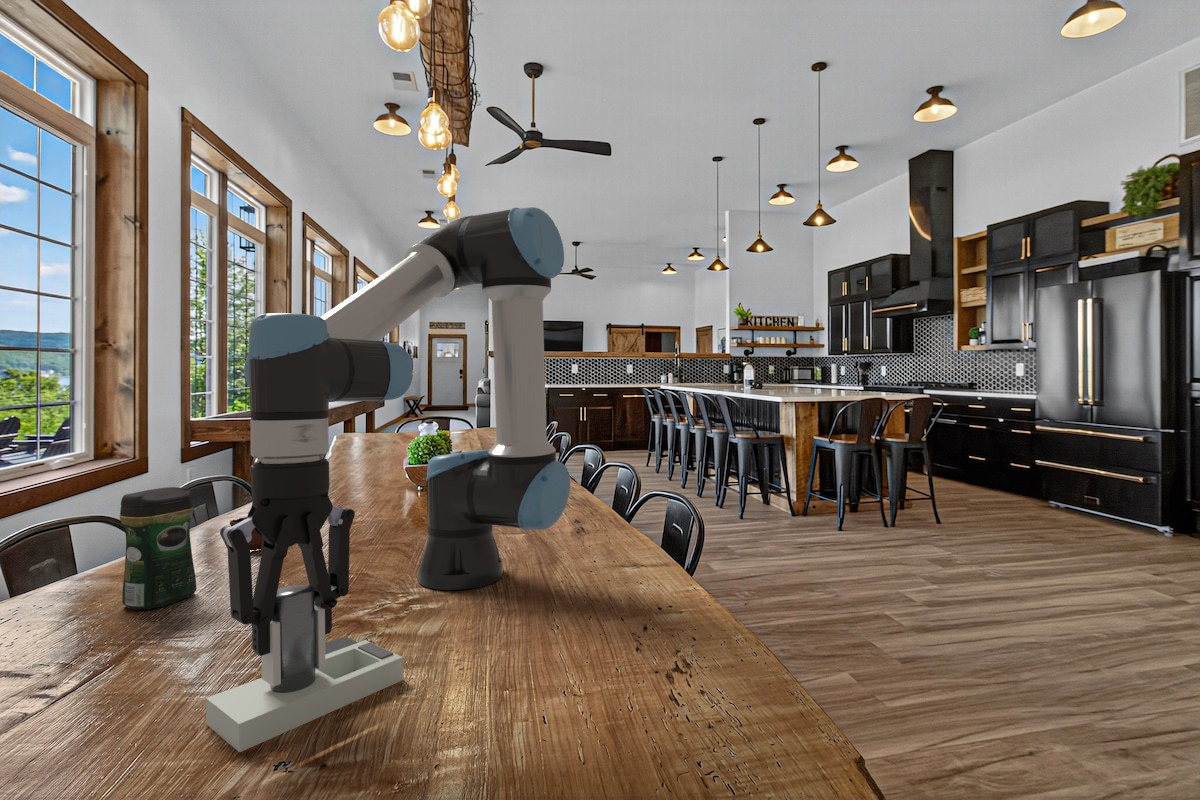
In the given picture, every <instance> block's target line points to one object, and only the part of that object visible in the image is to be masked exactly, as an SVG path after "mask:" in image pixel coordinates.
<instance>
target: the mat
mask: <svg viewBox="0 0 1200 800" xmlns="http://www.w3.org/2000/svg"><path fill="white" fill-rule="evenodd" d="M356 643H359V642H358V641H355V640H353V639H351V638H350V637H347V636H345V635H344V636H342V637H338V638H334V639H332V640H330V641H327V642H326V641H325V655H326V654H329V653H331V652H334V651H337V650H340V649H342V648H345V647H348V646H351V645H353V644H356Z"/></svg>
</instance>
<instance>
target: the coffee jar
mask: <svg viewBox="0 0 1200 800" xmlns="http://www.w3.org/2000/svg"><path fill="white" fill-rule="evenodd" d="M119 511H120V513H119V520H120V522H121V525H122V526H123V529H124V532H125V533H124V534H125V559H124V560H125V561H124V571H123V582H122V595H121V596H122V599H121V600H122V604H123V605H124V606H125V607H126V608H127V609H131V610H136V611H138V610H142V609H148V610H150V609H155V608H160V607H163V606H166V605H170V604H173V603H176V602H179V601H182V600H184V599H187V598H190V597H191V596H193V595H195V593H196V591H197V578H196V577H197V576H196V572H195V571H196V570H195V566H194V565H195V564H194V558H193V553H192V543H191V542H192V541H191V533H190V532H191V530H190V529H191V528H190V526H191V521H192V520H191V519H192V516H193V514H194V505H193V499H192V492H191V491H190V490H189V488H187V487H178V486H177V487H176V486H170V487H169V486H168V487H159V488H153V489H147V490H141V491H136V492H133V493H127V494H124V495H123V496H122V498H121V501H120V510H119Z"/></svg>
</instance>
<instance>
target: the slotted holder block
mask: <svg viewBox="0 0 1200 800" xmlns="http://www.w3.org/2000/svg"><path fill="white" fill-rule="evenodd" d="M325 661H326V667H324V668H322V669H317V668H315V672H316V679H315V681H314V683H313V684H311V685H310V686H308V687H306V688H304V689H301V690H298V691H294V692H289V693H277V692H274V691H272V690H271V689H270V684H269V683H267V682H265V681H264V680H262V677H260V678H258V679H257V678H256V679H254V680H252V681H248V682H246V683H243V684H241V685H238V686H235V687H232V688H230V689H226V690H224V691H222V692H219V693H216V694H213V695H211V696H207V697H205V713H206V714H205V716H206V717H205V718H206V719H205V720H206V723H205V724H206V725H207V727H209V728H210V729H212V731H213V732H215V733H216V734H217V735H218V736H219V737H221V738H222V739H223V740H224V741H226V743H227V744H229V745H230V746H231V747H232V748H233V749H235V751H237V752H238V753H242V752H244V751H246V750H248V749H250V748H252V747H253V748H254V747H255V746H257V745H259V744H262V743H263V742H266V741H268V740H271V739H274V738H275V737H278V736H280V735H282V734H284V733H286V732H289V731H291V730H293V729H296V728H298V727H300V726H302V725H304V724H307V723H309V722H311V721H314V720H316V719H318V718H320V717H323V716H325V715H328V714H329V713H332V712H335V711H336V710H339V709H341V708H343V707H346V706H348V705H350V704H352V703H355V702H357V701H359V700H361V699H364V698H365V697H366V698H367V697H368V696H370V695H372V694H375V693H377V692H379V691H381V690H384V689H386V688H388V687H390V686H393V685H395V684H397V683H399V682H402V681H404V657H403V656H402V655H399V654H397V653H395V652H393V651H391V650H388V649H387V648H383V647H381V646H379V645H377V644H375V643H373V642H371V641H368V640H366V639H364V640H362V641H359V642H358V643H356V644H353V645H351V646H348V647H345V648H342V649H340V650H337V651H334V652H331V653H329V654H326V655H325Z"/></svg>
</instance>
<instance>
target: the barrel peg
mask: <svg viewBox="0 0 1200 800" xmlns="http://www.w3.org/2000/svg"><path fill="white" fill-rule="evenodd" d="M272 621H277V622H280V658H281V684H279V685H277V686H274V687H273V686H272V685H270V689H271V690H272V691H274V692H277V693H289V692H294V691H298V690H301V689H304V688H306V687H308V686H310V685H311V684H313V683H314V681H315V679H316V672H315V601H314V587H313V586H310V585H309V584H294V585H287V586H282V587H278V591H277V596H276V601H275V606H274V611H273V617H272Z"/></svg>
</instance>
